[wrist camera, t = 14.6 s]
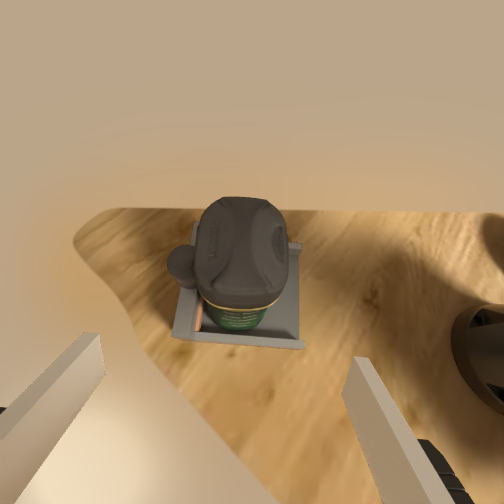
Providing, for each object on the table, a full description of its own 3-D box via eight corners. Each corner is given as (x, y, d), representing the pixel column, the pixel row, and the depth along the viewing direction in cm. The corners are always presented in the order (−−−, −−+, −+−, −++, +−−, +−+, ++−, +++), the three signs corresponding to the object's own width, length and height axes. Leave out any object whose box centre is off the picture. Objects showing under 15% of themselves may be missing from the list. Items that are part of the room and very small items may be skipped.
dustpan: (296, 252, 39) (318, 216, 29) (297, 349, 33) (326, 346, 23) (194, 243, 38) (181, 202, 28) (175, 340, 32) (149, 332, 22)
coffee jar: (265, 331, 32) (300, 303, 16) (208, 330, 32) (180, 301, 15) (264, 266, 36) (291, 188, 20) (213, 264, 36) (196, 183, 19)
